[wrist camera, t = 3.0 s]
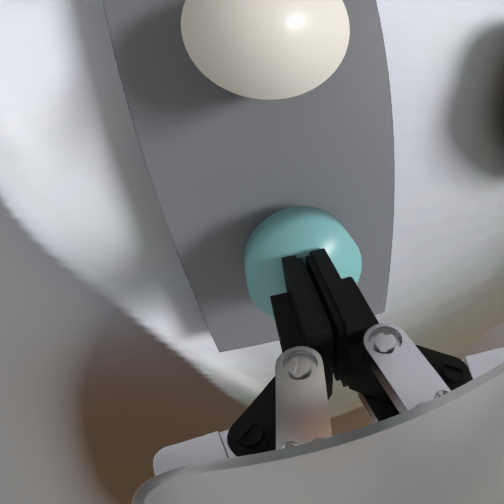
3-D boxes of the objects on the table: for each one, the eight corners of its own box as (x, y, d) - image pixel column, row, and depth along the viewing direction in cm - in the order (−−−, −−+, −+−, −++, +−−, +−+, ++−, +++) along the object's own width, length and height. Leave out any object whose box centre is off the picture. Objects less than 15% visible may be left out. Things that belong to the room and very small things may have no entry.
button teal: (232, 220, 12) (234, 241, 10) (346, 196, 12) (362, 213, 10) (254, 306, 14) (259, 330, 13) (348, 283, 14) (360, 305, 13)
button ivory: (174, -15, 6) (166, -30, 5) (315, -33, 6) (332, -47, 5) (203, 110, 9) (201, 115, 8) (340, 86, 9) (360, 89, 8)
